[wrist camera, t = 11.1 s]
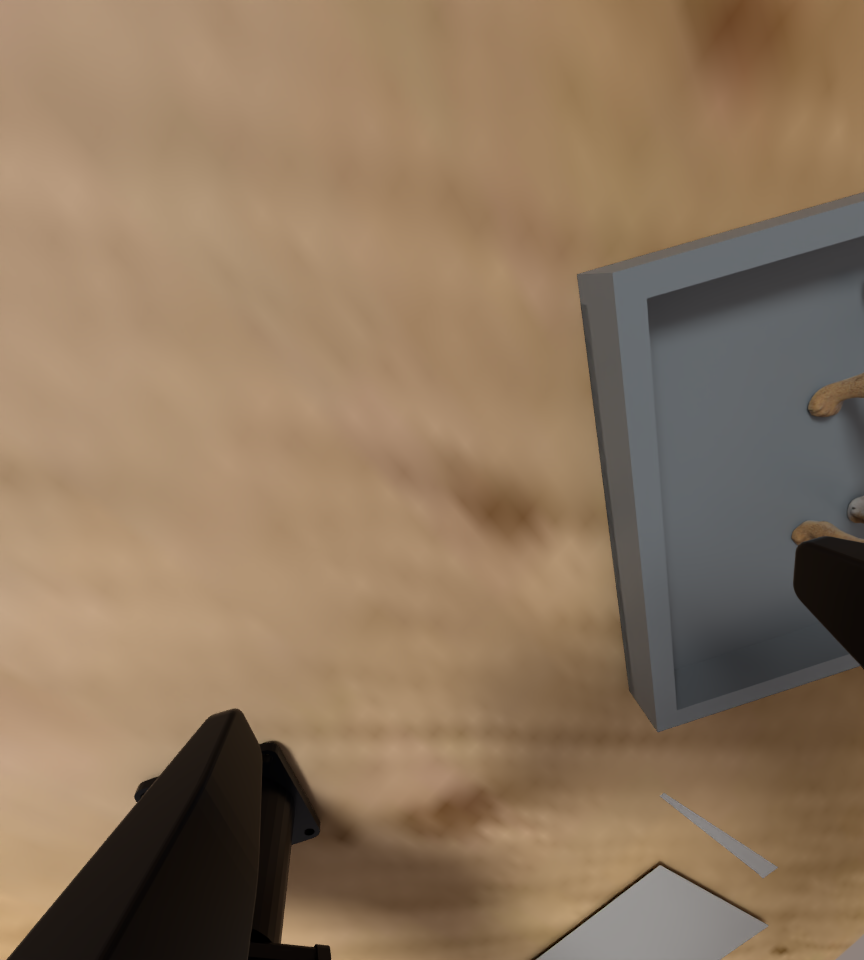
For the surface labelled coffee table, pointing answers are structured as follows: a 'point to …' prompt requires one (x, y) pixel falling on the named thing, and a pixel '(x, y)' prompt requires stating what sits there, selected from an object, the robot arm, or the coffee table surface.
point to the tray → (726, 450)
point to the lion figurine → (827, 405)
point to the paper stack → (667, 915)
